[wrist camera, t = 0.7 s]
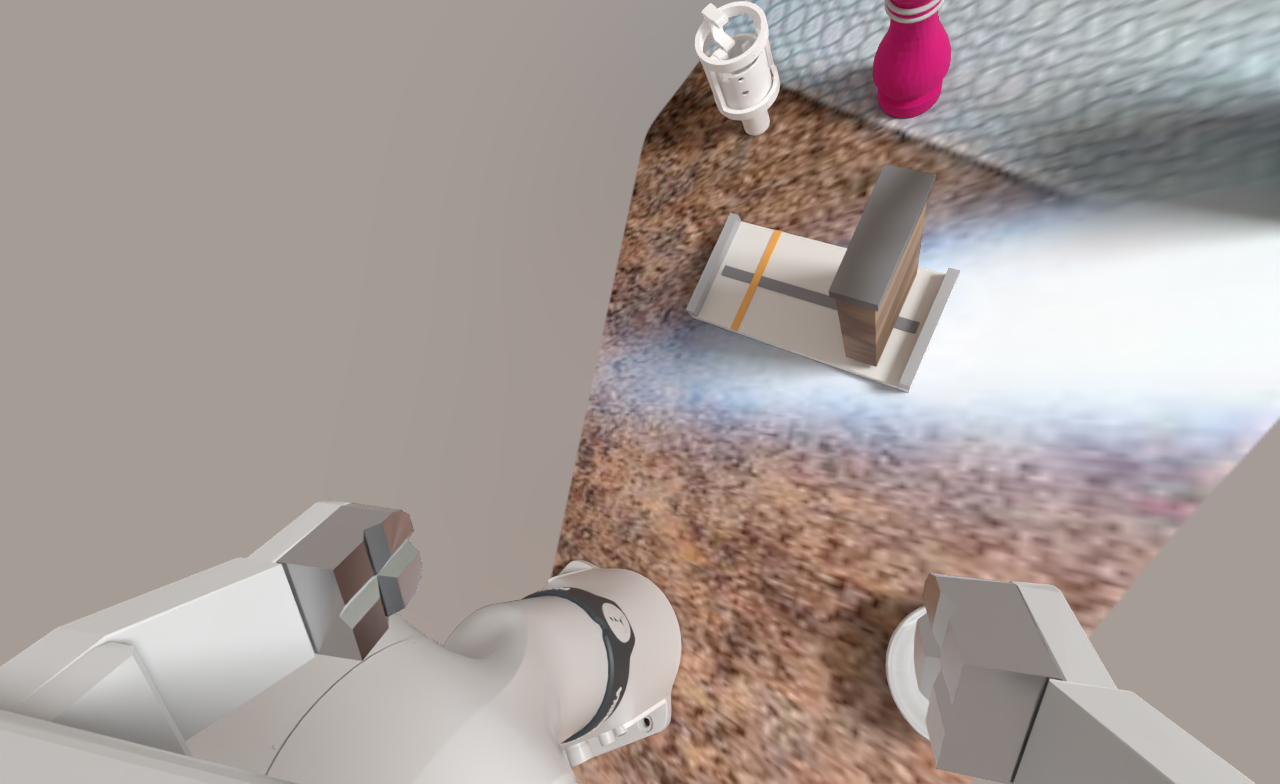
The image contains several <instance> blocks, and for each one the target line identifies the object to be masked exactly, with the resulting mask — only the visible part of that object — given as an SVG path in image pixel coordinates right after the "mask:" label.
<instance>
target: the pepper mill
mask: <svg viewBox="0 0 1280 784" xmlns="http://www.w3.org/2000/svg"><path fill="white" fill-rule="evenodd" d="M944 1H945V0H885V10H886V13H887V14H888V16H889V17H890V18H891V21H890V28H889V30H888V32H887V33H886V35H885V37H884V38H883V40H882V41H881V43H880V45H879V47H878V50H877V52H876V55H875V58H874V63H873V79H874V82H875V85H876V86H877V88H878V102H879V105H880V107H881V109H882V110H883V111H884V112H885V113H887V114H888V115H890V116H893V117H897V118H909V117H914V116H917V115H920V114H922V113H924V112H925V111H927V110H928V109H930V108H931V107H932V106H933V105H934V104H935V103H936V101H937V100H938V98H939V96H940V93H941V88H942V81H943V78H944V77H945V75H946V73H947V71H948V69H949V66H950V61H951V46H950V42H949V38H948V35H947V33H946V31H945V29H944V28H943V26H942V24H941V22H940V20H939V16H938V9H939V8H940V7H941V6H942V4H943V3H944Z"/></svg>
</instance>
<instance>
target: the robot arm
mask: <svg viewBox="0 0 1280 784" xmlns="http://www.w3.org/2000/svg"><path fill="white" fill-rule="evenodd" d="M413 532H414V529H413V525H412V522H411V519H410V515H409V514H407V513H406V512H404V511H402V510H397V509H391V508H384V507H377V506H371V505H364V504H357V503H347V502H339V501H333V500H325V501H320V502H317V503H316V504H314V505H313V506H312V507H311V508H309V509H308V510H307V511H306V512H304V513H303V514H302V515H300V516H299V517H298V518H297V519H295V520H294V521H293V522H292V523H290V524H289V525H288V526H286V527H285V528H284V529H283V530H282V531H280V532H279V533H278V534H277V535H275V536H274V537H273V538H271V539H270V540H269V541H268V542H266V543H265V544H264V545H263V546H261V547H260V548H259V549H258V550H256V551H255V552H254V553H252V554H251V555H250V556H249V557H247V558H235V559H233V560H230V561H228V562H225V563H223V564H220V565H217V566H215V567H212V568H210V569H207V570H205V571H202V572H199V573H197V574H195V575H192V576H189V577H187V578H184V579H181V580H179V581H176V582H174V583H171V584H168V585H166V586H163V587H161V588H158V589H156V590H153V591H150V592H148V593H145V594H143V595H140V596H138V597H135V598H132V599H130V600H127V601H125V602H122V603H120V604H117V605H114V606H112V607H109V608H107V609H104V610H102V611H99V612H96V613H94V614H91V615H89V616H86V617H83V618H81V619H78V620H76V621H73V622H71V623H68V624H65V625H63V626H60V627H58V628H56V629H55V630H53V631H52V632H50V633H49V634H47V635H46V636H44V637H43V638H41V639H40V640H39V641H37V642H36V643H34V644H33V645H31V646H30V647H28V648H27V649H26V650H24V651H23V652H21V653H20V654H18V655H17V656H15V657H14V658H12V659H11V660H9V661H8V662H7V663H5V664H4V665H2V666H1V667H0V784H577V779H576V776H575V774H574V773H573V771H572V769H571V768H570V766H571V767H574V766H577V765H579V764H581V763H583V762H585V761H587V760H588V759H590V758H593V757H595V756H598V755H601V754H603V753H606V752H608V751H611V750H614V749H616V748H619V747H622V746H624V745H627V744H629V743H632V742H635V741H637V740H640V739H642V738H645V737H648V736H650V735H653V734H655V733H658V732H660V731H662V730H664V729H666V728H667V727H668V725H669V723H670V720H671V690H672V686H673V683H674V680H675V678H676V675H677V672H678V668H679V664H680V658H681V635H680V629H679V624H678V621H677V618H676V615H675V613H674V610H673V608H672V606H671V604H670V603H669V601H668V599H667V598H666V596H665V595H664V594H663V592H662V591H661V590H660V589H659V588H658V587H657V586H656V585H655V584H654V583H653V582H651V581H650V580H649V579H647V578H646V577H644V576H642V575H640V574H638V573H636V572H633V571H630V570H626V569H618V568H599V567H597V566H595V565H593V564H591V563H589V562H587V561H584V560H574V561H571V562H570V563H569V564H568V565H567V566H566V567H565V568H564V569H563V570H562V571H561V572H560V574H559V575H558V576H555V577H552V578H550V579H549V580H547V585H546V586H545V587H544V588H543V589H542V590H541V591H538V592H536V593H534V594H531V595H528V596H527V597H525V598H523V599H521V600H515V601H509V602H503V603H497V604H491V605H488V606H485V607H483V608H480V609H478V610H477V611H475V612H473V613H472V614H471V615H469V616H468V617H467V618H466V619H465V620H464V621H462V623H460V624H459V625H458V626H457V628H456V629H455V630H454V631H453V632H452V634H451V635H450V636H449V637H448V639H447V640H446V642H445V644H444V646H442V645H440V644H439V643H438V642H436V641H434V640H432V639H429V638H428V637H427V636H425V635H424V634H423V633H422V632H420V631H419V630H418V629H416V628H415V627H414V626H413V625H411V624H410V623H409V622H408V621H406V620H405V619H404V618H402V617H401V616H400V615H399V614H397V613H396V612H398V611H400V610H402V609H403V608H405V607H406V606H407V605H408V603H409V602H410V601H411V599H412V598H413V596H414V595H415V593H416V591H417V588H418V585H419V582H420V580H421V572H422V562H421V558H420V554H419V551H418V550H417V549H416V548H415V547H414V546H413V544H412V543H411V542H410V541H409V538H410V537H411V535H412V533H413ZM922 596H923V600H924V604H925V608H926V611H927V613H926V614H924V615H923V616H922V617H920V618H919V619H917V624H916V630H915V636H914V665H915V674H916V679H917V684H918V689H919V691H920V692H921V693H922V694H923V696H924V697H925V698H926V699H927V700H928V701H929V706H928V711H927V715H926V720H925V721H926V725H927V730H928V734H929V739H930V743H931V747H932V752H933V756H934V760H935V765H936V769H940V770H944V771H949V772H954V773H958V774H963V775H968V776H972V777H977V778H982V779H986V780H991V781H996V782H1001V783H1005V784H1255V783H1254V782H1253V781H1251V780H1250V779H1249V778H1247V777H1246V776H1245V775H1243V774H1242V773H1241V772H1239V771H1238V770H1236V769H1235V768H1234V767H1233V766H1231V765H1230V764H1229V763H1227V762H1226V761H1224V760H1223V759H1222V758H1220V757H1219V756H1218V755H1217V754H1215V753H1213V752H1212V751H1211V750H1210V749H1208V748H1207V747H1206V746H1204V745H1203V744H1202V743H1200V742H1199V741H1198V740H1196V739H1195V738H1194V737H1192V736H1191V735H1190V734H1188V733H1187V732H1186V731H1184V730H1183V729H1181V728H1180V727H1179V726H1178V725H1176V724H1175V723H1174V722H1172V721H1171V720H1169V719H1168V718H1167V717H1166V716H1164V715H1163V714H1161V713H1160V712H1159V711H1157V710H1156V709H1155V708H1153V707H1152V706H1151V705H1149V704H1148V703H1147V702H1145V701H1144V700H1143V699H1141V698H1140V697H1139V696H1137V695H1136V694H1135V693H1133V692H1132V691H1126V690H1119V689H1117V687H1116V686H1115V684H1114V682H1113V681H1112V679H1111V677H1110V676H1109V674H1108V672H1107V670H1106V668H1105V667H1104V665H1103V663H1102V662H1101V660H1100V658H1099V656H1098V655H1097V653H1096V651H1095V649H1094V648H1093V646H1092V644H1091V643H1090V641H1089V639H1088V637H1087V636H1086V634H1085V632H1084V630H1083V629H1082V627H1081V625H1080V624H1079V622H1078V620H1077V618H1076V617H1075V615H1074V613H1073V611H1072V610H1071V608H1070V606H1069V605H1068V603H1067V601H1066V599H1065V598H1064V596H1063V594H1062V593H1061V591H1060V590H1059V589H1057V588H1056V587H1055V586H1053V585H1046V584H1035V583H1025V582H1015V581H1010V582H1005V581H996V580H988V579H979V578H970V577H961V576H952V575H944V574H935V573H929V575H928V577H927V579H926V581H925V585H924V590H923V594H922ZM645 718H648V719H649V721H650V725H649V726H648V725H646V724H645V722H644V719H645Z"/></svg>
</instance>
